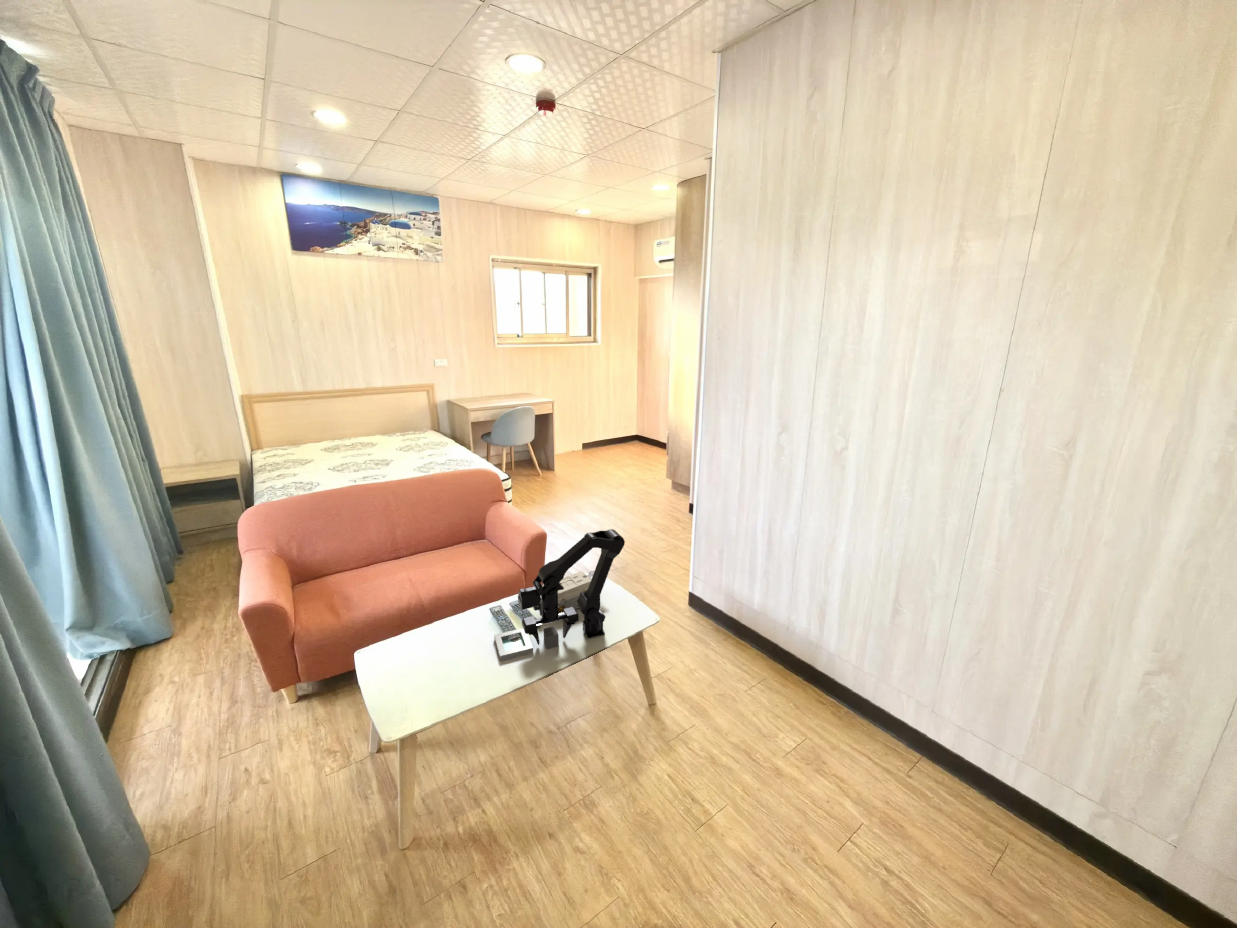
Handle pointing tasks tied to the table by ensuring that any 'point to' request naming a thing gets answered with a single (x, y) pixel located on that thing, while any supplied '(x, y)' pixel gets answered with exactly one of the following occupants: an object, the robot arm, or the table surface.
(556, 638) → the block
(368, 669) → the table surface
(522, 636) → the socket
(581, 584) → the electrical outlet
